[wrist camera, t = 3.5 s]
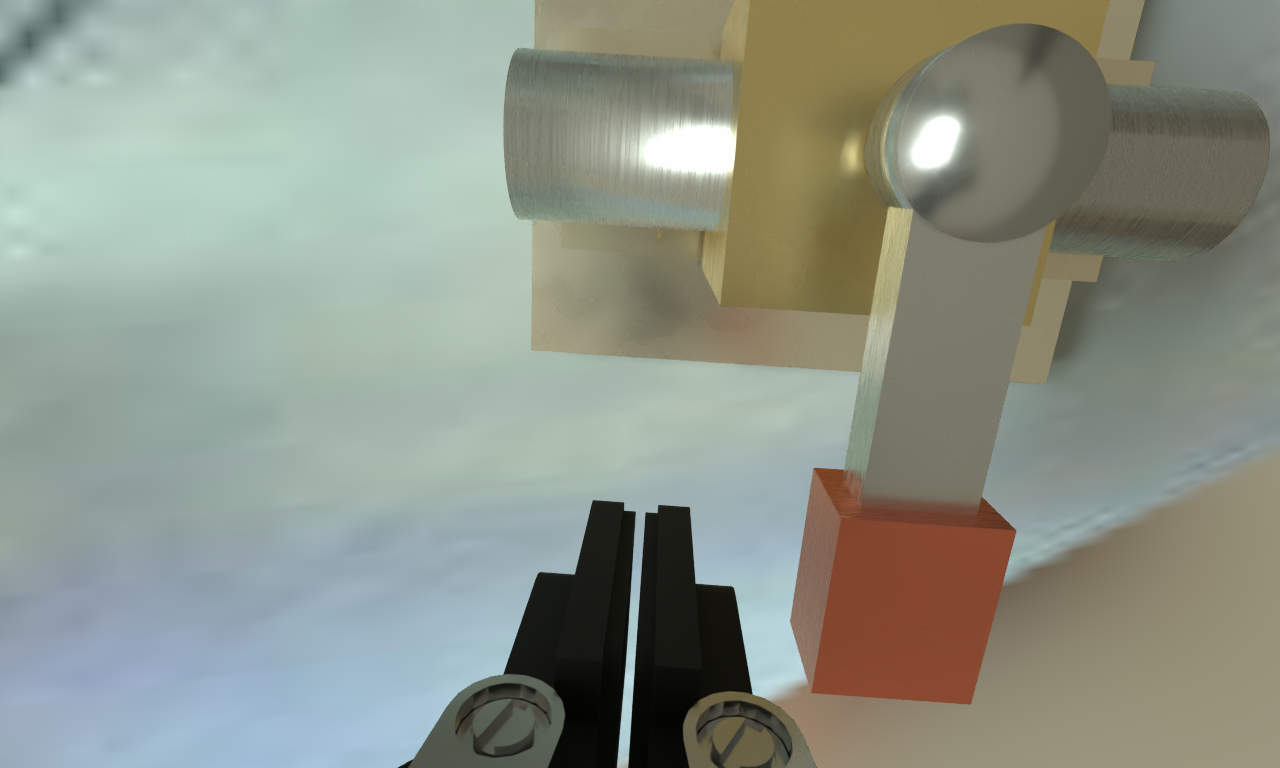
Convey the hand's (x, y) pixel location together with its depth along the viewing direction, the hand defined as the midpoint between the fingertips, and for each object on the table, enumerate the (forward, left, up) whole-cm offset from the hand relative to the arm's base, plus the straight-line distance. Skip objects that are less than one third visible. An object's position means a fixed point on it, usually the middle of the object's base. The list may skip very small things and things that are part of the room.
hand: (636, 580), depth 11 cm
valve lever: (-4, +4, -1) cm, 6 cm away
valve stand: (-7, +4, -11) cm, 14 cm away
